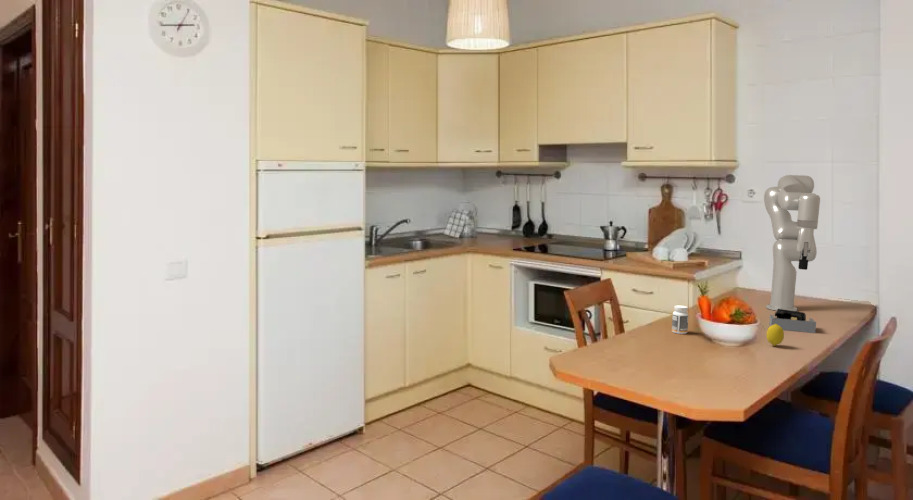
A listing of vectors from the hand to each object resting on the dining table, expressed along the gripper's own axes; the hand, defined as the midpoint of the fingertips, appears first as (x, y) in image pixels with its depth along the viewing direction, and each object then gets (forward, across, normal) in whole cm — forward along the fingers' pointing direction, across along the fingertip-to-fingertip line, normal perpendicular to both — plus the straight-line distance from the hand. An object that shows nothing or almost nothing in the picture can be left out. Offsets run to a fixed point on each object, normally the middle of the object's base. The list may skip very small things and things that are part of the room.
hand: (802, 269), depth 280 cm
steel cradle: (+21, +17, -3) cm, 28 cm away
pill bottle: (+21, +48, -43) cm, 67 cm away
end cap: (+22, +16, -4) cm, 27 cm away
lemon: (+21, +52, -11) cm, 57 cm away
